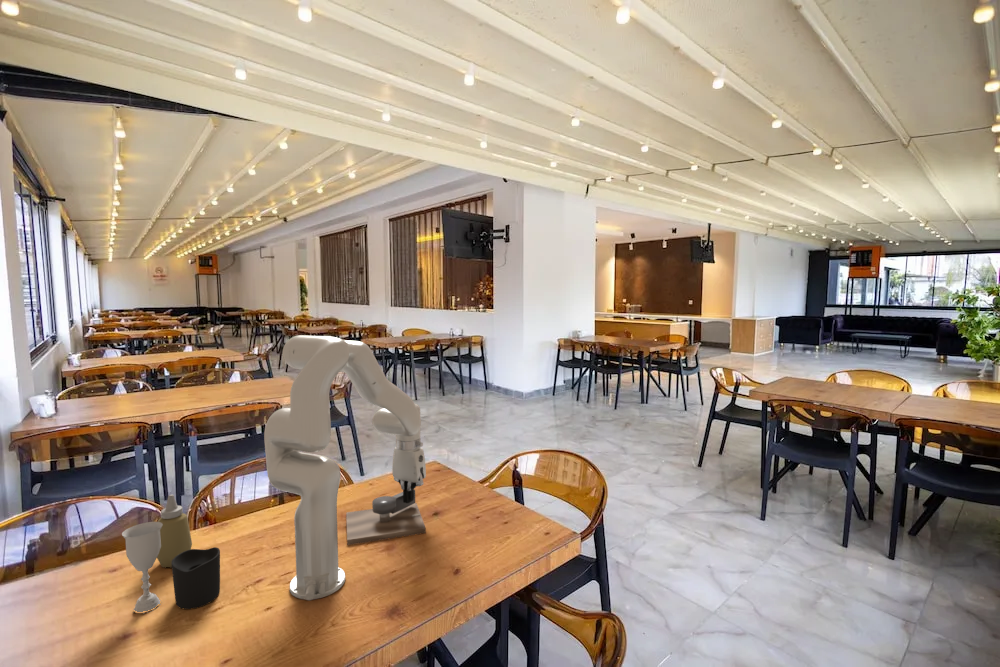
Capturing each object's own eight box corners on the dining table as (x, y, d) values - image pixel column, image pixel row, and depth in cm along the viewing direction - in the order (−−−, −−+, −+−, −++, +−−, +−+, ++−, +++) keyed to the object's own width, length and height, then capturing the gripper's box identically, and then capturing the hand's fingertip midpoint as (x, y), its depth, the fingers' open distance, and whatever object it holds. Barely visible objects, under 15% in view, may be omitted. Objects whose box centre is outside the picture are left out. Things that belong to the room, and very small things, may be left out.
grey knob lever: (420, 504, 155) (420, 490, 154) (383, 523, 142) (383, 508, 142) (405, 499, 159) (405, 485, 158) (367, 517, 146) (367, 502, 146)
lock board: (425, 533, 142) (425, 517, 142) (347, 545, 135) (346, 528, 135) (416, 507, 159) (416, 493, 159) (346, 517, 152) (346, 502, 152)
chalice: (161, 592, 113) (157, 518, 112) (171, 604, 109) (167, 527, 108) (122, 608, 108) (117, 530, 106) (131, 621, 103) (126, 540, 102)
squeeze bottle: (198, 559, 128) (195, 493, 126) (164, 574, 121) (160, 504, 119) (183, 551, 132) (180, 486, 131) (149, 564, 125) (145, 497, 124)
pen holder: (208, 581, 118) (206, 542, 117) (230, 593, 113) (228, 552, 112) (165, 602, 110) (163, 560, 109) (187, 616, 105) (184, 572, 104)
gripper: (435, 444, 150) (435, 501, 151) (397, 437, 156) (397, 492, 158) (420, 450, 143) (420, 511, 144) (381, 443, 150) (381, 501, 151)
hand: (408, 501), depth 151 cm, fingers closed
